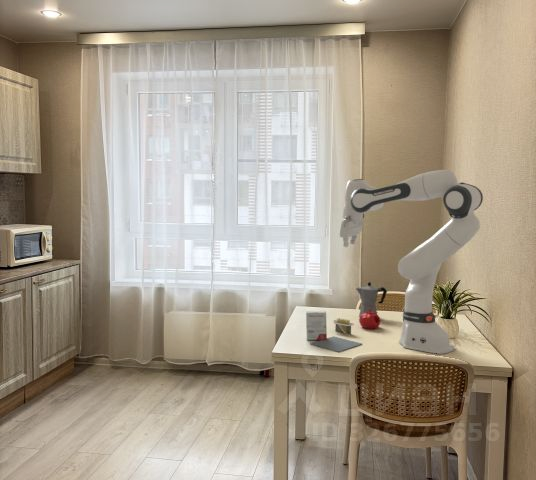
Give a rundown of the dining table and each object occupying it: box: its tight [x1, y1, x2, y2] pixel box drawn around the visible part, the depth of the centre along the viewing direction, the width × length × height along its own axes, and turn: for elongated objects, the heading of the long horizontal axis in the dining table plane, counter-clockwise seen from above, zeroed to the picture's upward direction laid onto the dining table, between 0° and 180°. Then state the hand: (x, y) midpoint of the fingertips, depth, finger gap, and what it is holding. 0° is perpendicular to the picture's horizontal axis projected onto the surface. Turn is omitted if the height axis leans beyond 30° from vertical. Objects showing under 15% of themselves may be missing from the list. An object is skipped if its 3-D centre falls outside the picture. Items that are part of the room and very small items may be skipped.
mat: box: [309, 335, 363, 353], centre depth 229 cm, size 15×16×1 cm
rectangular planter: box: [332, 317, 355, 335], centre depth 248 cm, size 12×18×7 cm, turn 53°
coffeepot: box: [355, 281, 388, 318], centre depth 277 cm, size 15×9×18 cm, turn 87°
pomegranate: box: [358, 308, 382, 330], centre depth 258 cm, size 10×10×9 cm
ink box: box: [305, 310, 328, 341], centre depth 236 cm, size 9×5×12 cm, turn 84°
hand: (349, 245), depth 248 cm, fingers open, 8 cm apart
